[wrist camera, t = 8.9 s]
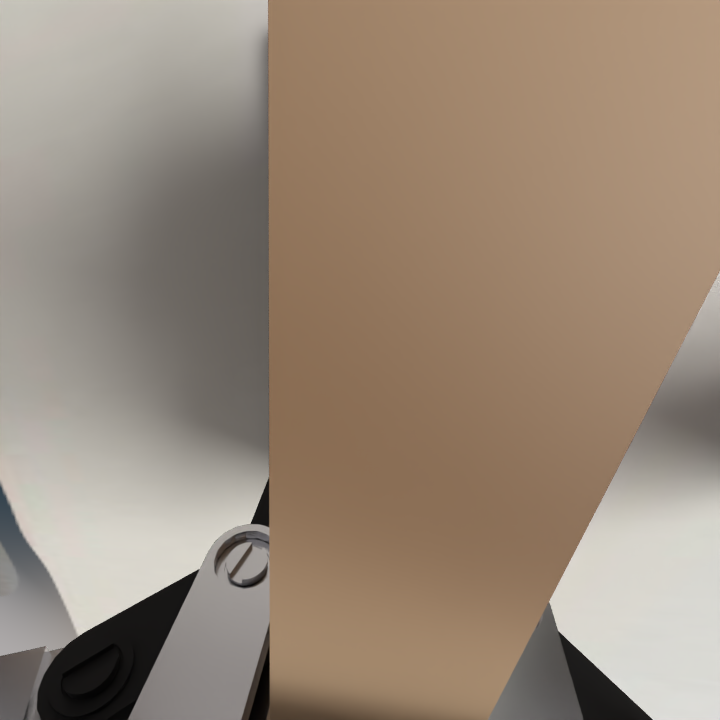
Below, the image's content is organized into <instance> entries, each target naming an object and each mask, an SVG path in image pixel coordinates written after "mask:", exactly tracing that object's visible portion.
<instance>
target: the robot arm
mask: <svg viewBox="0 0 720 720" xmlns="http://www.w3.org/2000/svg"><path fill="white" fill-rule="evenodd" d="M0 720H270V567H269V479H268V481H267V484H266V486H265V489H264V491H263V494H262V496H261V499H260V501H259V504H258V507H257V509H256V512H255V514H254V517H253V519H252V522H251V524H247V525H242V526H238V527H235V528H233V529H231V530H229V531H227V532H225V533H224V534H223V535H222V536H220V537H219V538H218V539H217V540H216V541H215V542H214V544H213V545H212V547H211V548H210V550H209V551H208V553H207V555H206V557H205V559H204V561H203V563H202V566H201V568H200V569H199V570H197V571H195V572H193V573H191V574H189V575H188V576H186V577H184V578H182V579H180V580H179V581H177V582H175V583H173V584H171V585H170V586H168V587H166V588H164V589H162V590H160V591H159V592H157V593H155V594H153V595H151V596H150V597H148V598H146V599H144V600H142V601H141V602H139V603H137V604H135V605H133V606H132V607H130V608H128V609H126V610H124V611H122V612H121V613H119V614H117V615H115V616H113V617H112V618H110V619H108V620H106V621H104V622H103V623H101V624H99V625H97V626H95V627H93V628H92V629H90V630H88V631H86V632H84V633H83V634H82V635H80V636H79V637H77V638H76V639H74V640H73V641H71V642H70V643H69V644H68V645H67V646H66V647H65V648H61V649H56V650H52V651H49V650H48V648H47V647H46V646H44V647H40V648H35V649H31V650H26V651H22V652H17V653H12V654H8V655H3V656H0ZM488 720H653V719H651V718H650V717H649V716H648V715H647V714H646V713H645V712H644V711H643V710H642V709H641V708H640V707H639V706H638V705H636V704H635V703H634V702H633V701H632V700H631V699H630V698H629V697H628V696H627V695H626V694H625V693H624V692H623V691H622V690H620V689H619V688H618V687H617V686H616V685H615V684H614V683H613V682H612V681H611V680H610V679H609V678H608V677H607V676H606V675H604V674H603V673H602V672H601V671H600V670H599V669H598V668H597V667H596V666H595V665H594V664H593V663H592V662H591V661H589V660H588V659H587V658H586V657H585V656H584V655H583V654H582V653H581V652H580V651H579V650H578V649H577V648H576V647H575V646H573V645H572V644H571V643H570V642H569V641H568V640H567V639H566V638H565V637H564V636H563V635H562V634H561V633H560V632H559V631H558V630H557V626H556V623H555V619H554V616H553V613H552V609H551V606H550V603H549V602H548V604H547V606H546V608H545V610H544V612H543V614H542V616H541V618H540V620H539V622H538V624H537V626H536V627H535V629H534V631H533V633H532V635H531V637H530V639H529V641H528V643H527V645H526V647H525V649H524V651H523V653H522V655H521V657H520V658H519V660H518V662H517V664H516V666H515V668H514V670H513V672H512V674H511V676H510V678H509V680H508V682H507V684H506V686H505V687H504V689H503V691H502V693H501V695H500V697H499V699H498V701H497V703H496V705H495V707H494V709H493V711H492V713H491V715H490V717H489V718H488Z"/></svg>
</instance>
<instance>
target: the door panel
mask: <svg viewBox="0 0 720 720" xmlns="http://www.w3.org/2000/svg"><path fill="white" fill-rule="evenodd" d="M268 129H269V567H270V720H488V718H489V717H490V715H491V713H492V711H493V709H494V707H495V705H496V703H497V701H498V699H499V697H500V695H501V693H502V691H503V689H504V687H505V686H506V684H507V682H508V680H509V678H510V676H511V674H512V672H513V670H514V668H515V666H516V664H517V662H518V660H519V658H520V657H521V655H522V653H523V651H524V649H525V647H526V645H527V643H528V641H529V639H530V637H531V635H532V633H533V631H534V629H535V627H536V626H537V624H538V622H539V620H540V618H541V616H542V614H543V612H544V610H545V608H546V606H547V604H548V602H549V600H550V598H551V596H552V595H553V593H554V591H555V589H556V587H557V585H558V583H559V581H560V579H561V577H562V575H563V573H564V571H565V569H566V567H567V565H568V564H569V562H570V560H571V558H572V556H573V554H574V552H575V550H576V548H577V546H578V544H579V542H580V540H581V538H582V536H583V535H584V533H585V531H586V529H587V527H588V525H589V523H590V521H591V519H592V517H593V515H594V513H595V511H596V509H597V507H598V505H599V504H600V502H601V500H602V498H603V496H604V494H605V492H606V490H607V488H608V486H609V484H610V482H611V480H612V478H613V476H614V474H615V473H616V471H617V469H618V467H619V465H620V463H621V461H622V459H623V457H624V455H625V453H626V451H627V449H628V447H629V445H630V443H631V442H632V440H633V438H634V436H635V434H636V432H637V430H638V428H639V426H640V424H641V422H642V420H643V418H644V416H645V414H646V413H647V411H648V409H649V407H650V405H651V403H652V401H653V399H654V397H655V395H656V393H657V391H658V389H659V387H660V385H661V383H662V382H663V380H664V378H665V376H666V374H667V372H668V370H669V368H670V366H671V364H672V362H673V360H674V358H675V356H676V354H677V352H678V351H679V349H680V347H681V345H682V343H683V341H684V339H685V337H686V335H687V333H688V331H689V329H690V327H691V325H692V323H693V321H694V320H695V318H696V316H697V314H698V312H699V310H700V308H701V306H702V304H703V302H704V300H705V298H706V296H707V294H708V292H709V291H710V289H711V287H712V285H713V283H714V281H715V279H716V277H717V275H718V273H719V271H720V0H268Z"/></svg>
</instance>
